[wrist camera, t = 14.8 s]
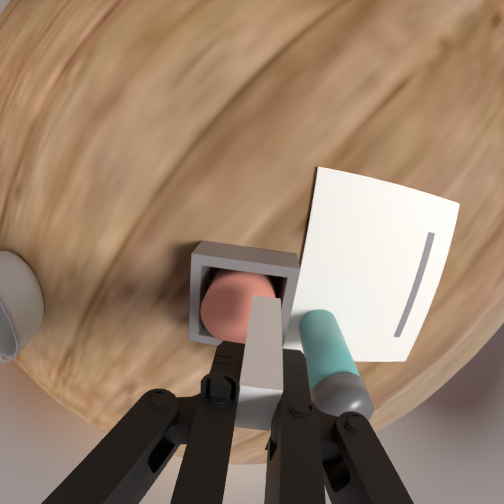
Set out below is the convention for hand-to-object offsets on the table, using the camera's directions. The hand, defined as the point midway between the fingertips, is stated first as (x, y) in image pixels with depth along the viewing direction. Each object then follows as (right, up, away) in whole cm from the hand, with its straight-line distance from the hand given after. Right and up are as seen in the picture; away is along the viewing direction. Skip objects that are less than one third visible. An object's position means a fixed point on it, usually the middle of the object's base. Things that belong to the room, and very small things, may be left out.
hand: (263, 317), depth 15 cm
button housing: (-1, +1, +6) cm, 7 cm away
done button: (-1, +1, +6) cm, 6 cm away
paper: (+9, +1, +6) cm, 11 cm away
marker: (+5, -2, +7) cm, 9 cm away
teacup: (-28, -2, +9) cm, 29 cm away
